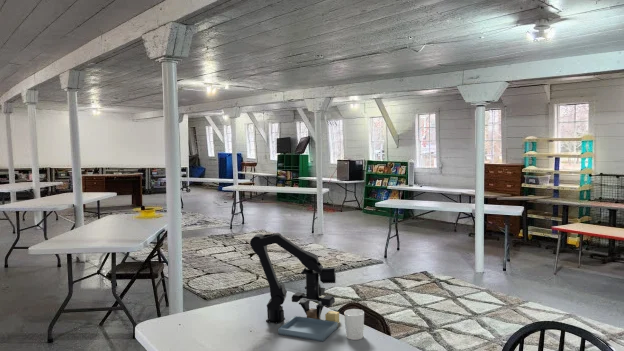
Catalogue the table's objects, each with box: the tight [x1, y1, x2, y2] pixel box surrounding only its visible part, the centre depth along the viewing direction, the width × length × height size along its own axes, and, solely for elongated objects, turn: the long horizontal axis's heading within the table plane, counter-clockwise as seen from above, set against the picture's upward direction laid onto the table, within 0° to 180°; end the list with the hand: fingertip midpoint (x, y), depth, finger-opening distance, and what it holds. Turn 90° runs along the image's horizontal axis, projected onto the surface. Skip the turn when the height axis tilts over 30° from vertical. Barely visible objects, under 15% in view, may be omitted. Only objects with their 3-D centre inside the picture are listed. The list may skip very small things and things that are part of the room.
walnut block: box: [306, 308, 321, 319], centre depth 206 cm, size 4×4×4 cm
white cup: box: [343, 308, 365, 341], centre depth 187 cm, size 8×8×10 cm
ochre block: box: [324, 310, 340, 325], centre depth 202 cm, size 4×4×4 cm
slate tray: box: [277, 315, 338, 343], centre depth 194 cm, size 20×15×2 cm
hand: (313, 318), depth 206 cm, fingers closed on walnut block, 4 cm apart
